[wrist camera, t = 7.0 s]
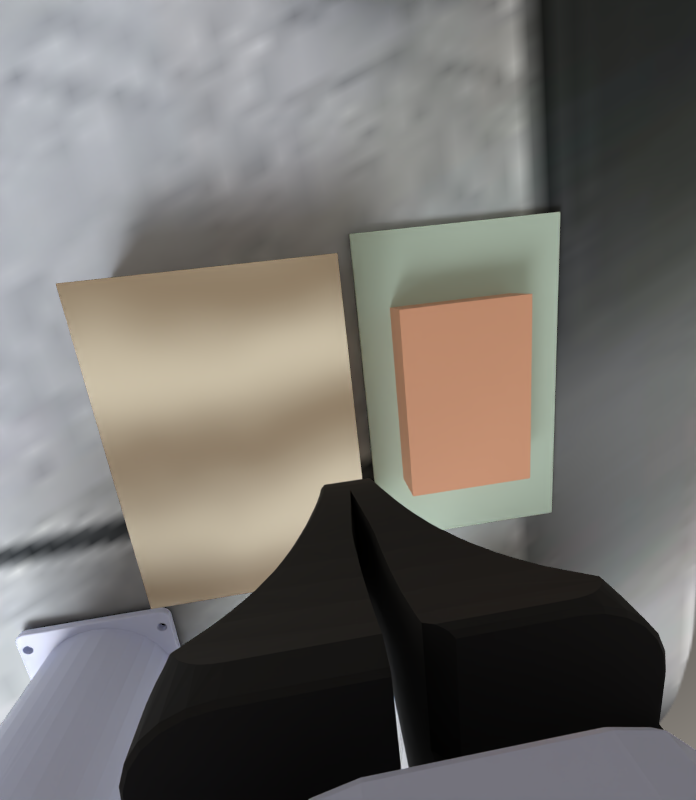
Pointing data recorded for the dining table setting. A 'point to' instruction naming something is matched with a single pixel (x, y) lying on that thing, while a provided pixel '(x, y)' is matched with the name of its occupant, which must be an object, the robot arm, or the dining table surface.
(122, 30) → the dining table surface
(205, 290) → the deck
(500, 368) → the block
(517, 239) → the mat
